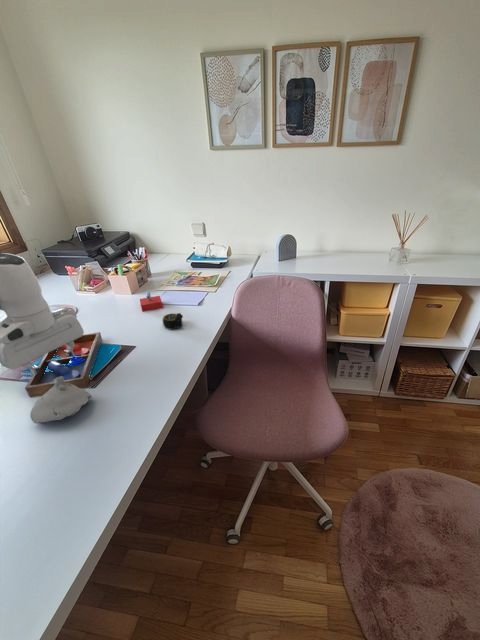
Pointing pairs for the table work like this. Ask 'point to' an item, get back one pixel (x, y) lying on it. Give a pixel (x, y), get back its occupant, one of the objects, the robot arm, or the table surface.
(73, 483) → the table surface
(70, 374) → the blue elongated piece
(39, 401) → the grey clay mound
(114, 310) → the table surface
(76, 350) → the red spoon
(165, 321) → the tape measure
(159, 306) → the red rectangular block
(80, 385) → the sorting tray
